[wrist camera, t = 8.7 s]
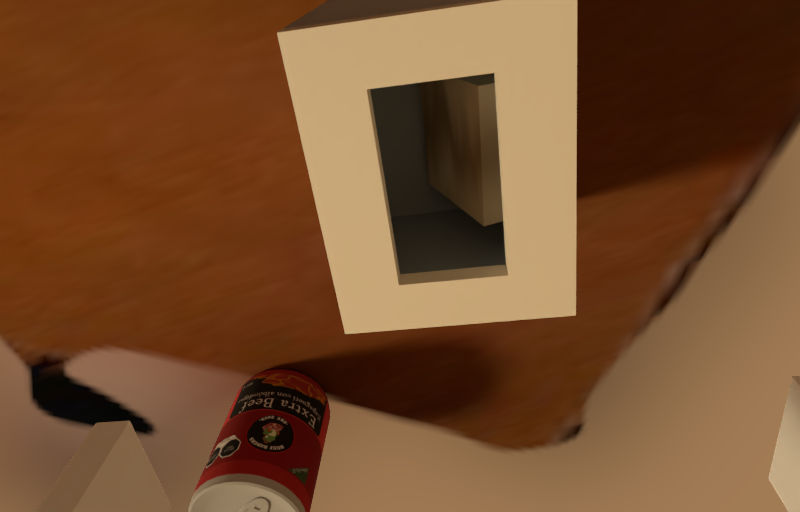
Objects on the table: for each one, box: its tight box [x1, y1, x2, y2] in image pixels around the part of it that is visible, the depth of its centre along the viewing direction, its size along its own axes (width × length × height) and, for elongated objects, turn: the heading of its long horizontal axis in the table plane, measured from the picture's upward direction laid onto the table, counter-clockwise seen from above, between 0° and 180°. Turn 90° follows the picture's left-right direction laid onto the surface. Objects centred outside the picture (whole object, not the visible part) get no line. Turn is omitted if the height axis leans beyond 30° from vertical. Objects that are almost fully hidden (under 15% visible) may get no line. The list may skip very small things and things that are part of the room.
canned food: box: [188, 369, 330, 512], centre depth 42 cm, size 8×8×11 cm
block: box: [420, 73, 503, 226], centre depth 31 cm, size 7×3×7 cm
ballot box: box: [277, 0, 577, 334], centre depth 30 cm, size 14×11×12 cm
